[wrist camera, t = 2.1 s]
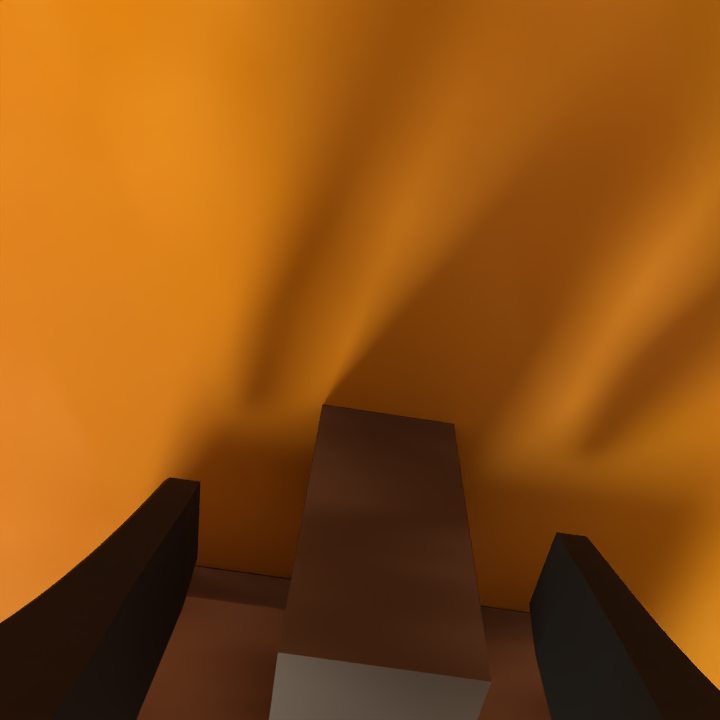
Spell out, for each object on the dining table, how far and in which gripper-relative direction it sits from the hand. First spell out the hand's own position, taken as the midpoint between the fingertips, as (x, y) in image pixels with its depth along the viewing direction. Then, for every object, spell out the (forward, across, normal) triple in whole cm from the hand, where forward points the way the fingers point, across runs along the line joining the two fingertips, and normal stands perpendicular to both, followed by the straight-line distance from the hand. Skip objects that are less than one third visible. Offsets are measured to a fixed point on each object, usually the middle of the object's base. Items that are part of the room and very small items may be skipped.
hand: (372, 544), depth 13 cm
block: (+3, 0, 0) cm, 3 cm away
